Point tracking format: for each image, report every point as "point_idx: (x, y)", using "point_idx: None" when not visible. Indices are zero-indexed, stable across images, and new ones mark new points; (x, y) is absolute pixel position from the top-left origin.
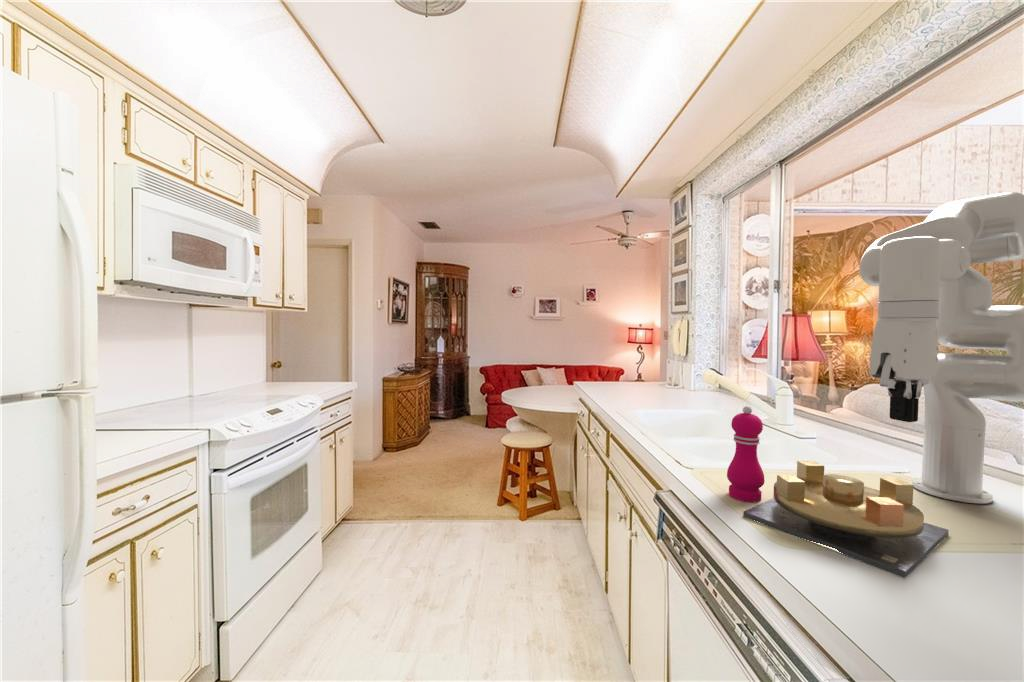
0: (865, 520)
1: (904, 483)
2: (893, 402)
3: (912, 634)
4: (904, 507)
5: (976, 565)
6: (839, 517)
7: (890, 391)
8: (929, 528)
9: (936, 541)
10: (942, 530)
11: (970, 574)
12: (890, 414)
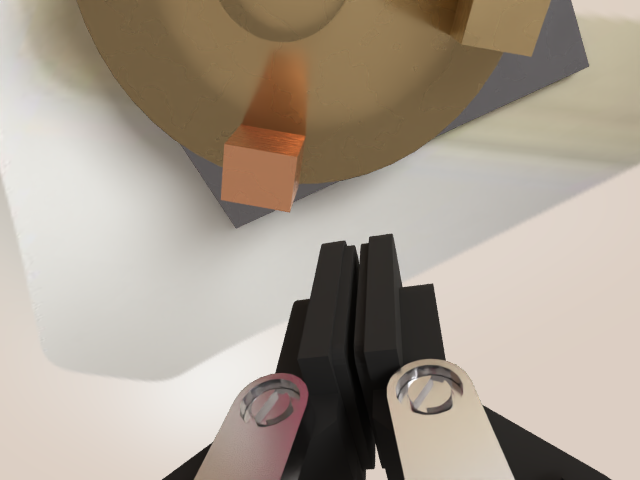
0: (222, 144)
1: (516, 33)
2: (279, 364)
3: (122, 329)
4: (446, 69)
5: (451, 201)
6: (159, 117)
7: (202, 459)
8: (537, 52)
9: (459, 125)
10: (562, 68)
11: (393, 226)
12: (321, 258)
